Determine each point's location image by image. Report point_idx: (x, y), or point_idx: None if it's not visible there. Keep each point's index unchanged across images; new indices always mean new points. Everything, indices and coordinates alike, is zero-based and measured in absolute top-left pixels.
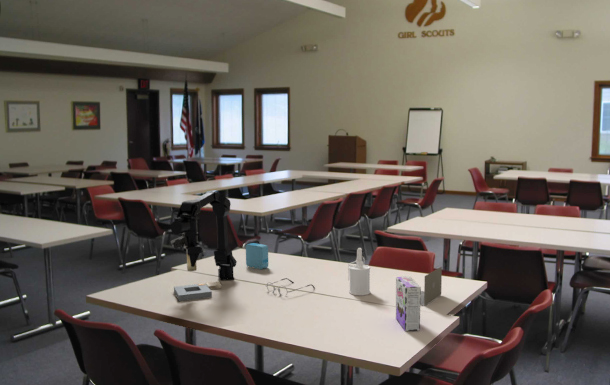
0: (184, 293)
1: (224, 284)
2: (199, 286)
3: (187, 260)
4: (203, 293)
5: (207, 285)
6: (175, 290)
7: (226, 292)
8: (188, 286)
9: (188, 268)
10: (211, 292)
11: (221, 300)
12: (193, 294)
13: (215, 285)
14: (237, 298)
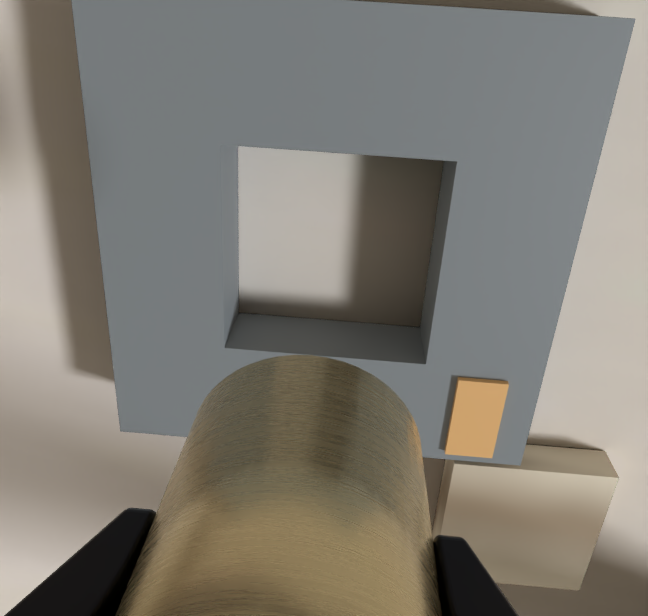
0: (151, 98)
1: (536, 600)
2: (410, 373)
3: (205, 609)
4: (114, 336)
5: (499, 466)
6: (442, 6)
7: None
8: (498, 246)
9: (225, 407)
10: (124, 421)
11: (2, 434)
12: (102, 214)
13: (440, 528)
14: (29, 554)
